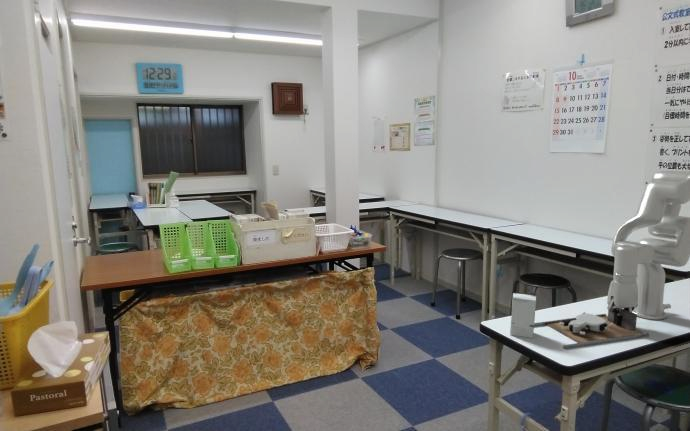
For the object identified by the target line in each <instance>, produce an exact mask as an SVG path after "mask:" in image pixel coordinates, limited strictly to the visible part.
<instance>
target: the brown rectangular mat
mask: <svg viewBox="0 0 690 431" xmlns="http://www.w3.org/2000/svg"><path fill="white" fill-rule="evenodd" d="M607 310H608V311H607V315H606V316H603V317H601V318H603V319H604V320H606V321H607V326H609V325H610V324H611V323H613V320H614V314H613V312H612V311H611V310H609V309H607ZM617 311H618V309H617ZM621 316H622V324H621V326H618V325H616V324H614V323H613V324H612V325H610V326H609V327H607V329H605V330H602V331H600V332H596V331H592V330H588V332H587V334H586V335H582V334H578V333H574V332H573V331H569V326H564V325H560V324H559V323H551V324H547V325H546V326H548V327H549V328H551V329H553V330H555V331H556V332H558V333H560V334H562V335H564V336H565V337H567V338H568V339H570V340H572V341H574V342H576V343H582V342H589V341H595V340H602V339H609V338H616V337H622V336H629V335H636V334H643V333H644V332H643V331H641V330H639V329H637V319H638V318H637V317H638V316H637V314H634V313H632V312H630V311H627V310H625V309H623V308H622V311H621Z"/></svg>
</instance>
